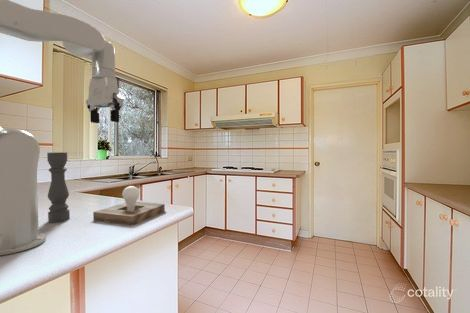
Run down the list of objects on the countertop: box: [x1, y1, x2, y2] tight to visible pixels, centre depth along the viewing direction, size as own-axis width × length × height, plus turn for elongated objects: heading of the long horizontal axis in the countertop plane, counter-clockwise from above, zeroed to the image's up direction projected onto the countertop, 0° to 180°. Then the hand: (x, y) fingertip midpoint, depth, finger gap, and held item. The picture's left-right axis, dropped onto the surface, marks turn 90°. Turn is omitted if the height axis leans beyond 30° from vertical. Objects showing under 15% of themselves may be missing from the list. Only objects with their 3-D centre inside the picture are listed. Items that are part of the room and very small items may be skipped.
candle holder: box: [46, 152, 71, 224], centre depth 81 cm, size 6×6×25 cm
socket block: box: [92, 201, 165, 226], centre depth 87 cm, size 18×18×3 cm
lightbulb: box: [121, 185, 140, 211], centre depth 87 cm, size 6×6×11 cm
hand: (104, 122), depth 82 cm, fingers open, 9 cm apart
